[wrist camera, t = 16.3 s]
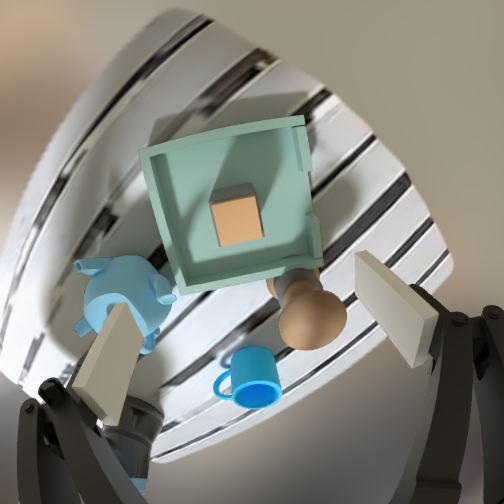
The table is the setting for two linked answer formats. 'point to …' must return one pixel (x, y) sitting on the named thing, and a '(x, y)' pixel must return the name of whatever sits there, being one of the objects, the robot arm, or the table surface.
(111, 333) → the robot arm
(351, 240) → the table surface
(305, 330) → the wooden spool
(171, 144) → the pale green tray
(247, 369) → the mug
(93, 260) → the teapot
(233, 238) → the gray and orange block
